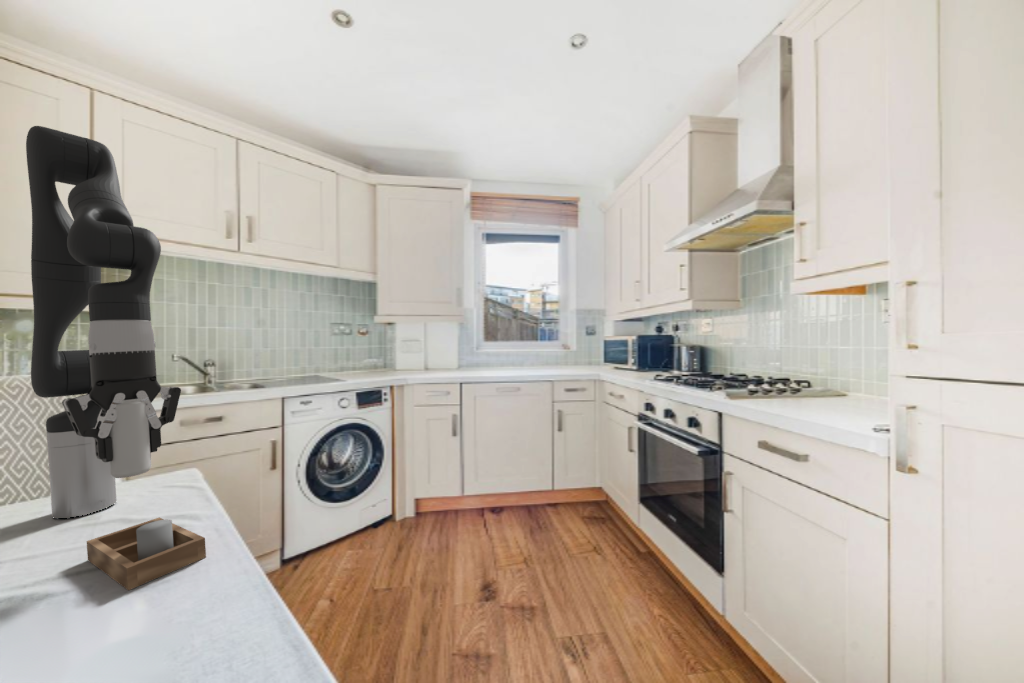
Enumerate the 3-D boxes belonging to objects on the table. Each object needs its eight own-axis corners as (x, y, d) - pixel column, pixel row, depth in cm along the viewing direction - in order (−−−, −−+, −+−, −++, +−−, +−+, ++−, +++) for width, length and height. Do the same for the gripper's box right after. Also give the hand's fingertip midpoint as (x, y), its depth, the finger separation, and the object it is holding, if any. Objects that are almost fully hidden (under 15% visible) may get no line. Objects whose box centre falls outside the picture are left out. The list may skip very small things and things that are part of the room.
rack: (87, 560, 63) (86, 541, 63) (160, 534, 71) (159, 517, 71) (128, 590, 54) (126, 568, 54) (206, 557, 62) (204, 537, 62)
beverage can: (126, 479, 61) (121, 401, 61) (101, 478, 62) (96, 401, 62) (159, 469, 66) (155, 396, 66) (136, 468, 67) (131, 396, 67)
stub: (134, 568, 60) (131, 528, 60) (167, 555, 63) (165, 517, 63) (145, 575, 58) (142, 534, 58) (179, 561, 61) (176, 522, 61)
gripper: (169, 348, 72) (175, 442, 72) (49, 353, 60) (57, 467, 60) (187, 346, 68) (194, 446, 69) (64, 351, 56) (72, 473, 56)
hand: (130, 455), depth 64 cm, fingers closed on beverage can, 4 cm apart
